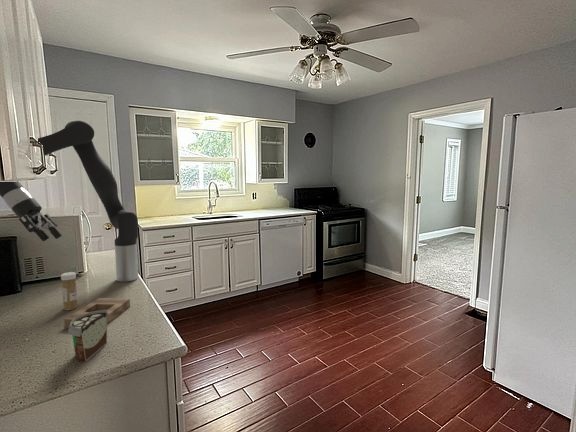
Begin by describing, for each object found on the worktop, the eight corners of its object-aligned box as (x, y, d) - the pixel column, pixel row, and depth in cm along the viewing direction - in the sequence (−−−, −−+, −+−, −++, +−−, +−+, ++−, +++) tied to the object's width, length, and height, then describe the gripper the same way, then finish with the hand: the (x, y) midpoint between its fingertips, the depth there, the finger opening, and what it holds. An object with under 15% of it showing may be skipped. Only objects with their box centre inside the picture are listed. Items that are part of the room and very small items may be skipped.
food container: (90, 340, 94) (88, 308, 93) (110, 340, 94) (108, 309, 93) (59, 364, 82) (56, 328, 81) (81, 365, 82) (79, 329, 80)
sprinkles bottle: (78, 309, 116) (75, 274, 114) (63, 311, 113) (60, 276, 111) (78, 304, 119) (75, 270, 118) (63, 307, 117) (61, 272, 115)
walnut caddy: (99, 305, 119) (98, 297, 119) (130, 306, 119) (129, 298, 118) (64, 327, 101) (64, 319, 101) (100, 328, 101) (100, 320, 100)
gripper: (18, 196, 106) (51, 234, 108) (43, 197, 120) (71, 231, 122) (-2, 209, 105) (32, 247, 107) (25, 209, 119) (54, 242, 121)
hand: (53, 238), depth 115 cm, fingers open, 8 cm apart
